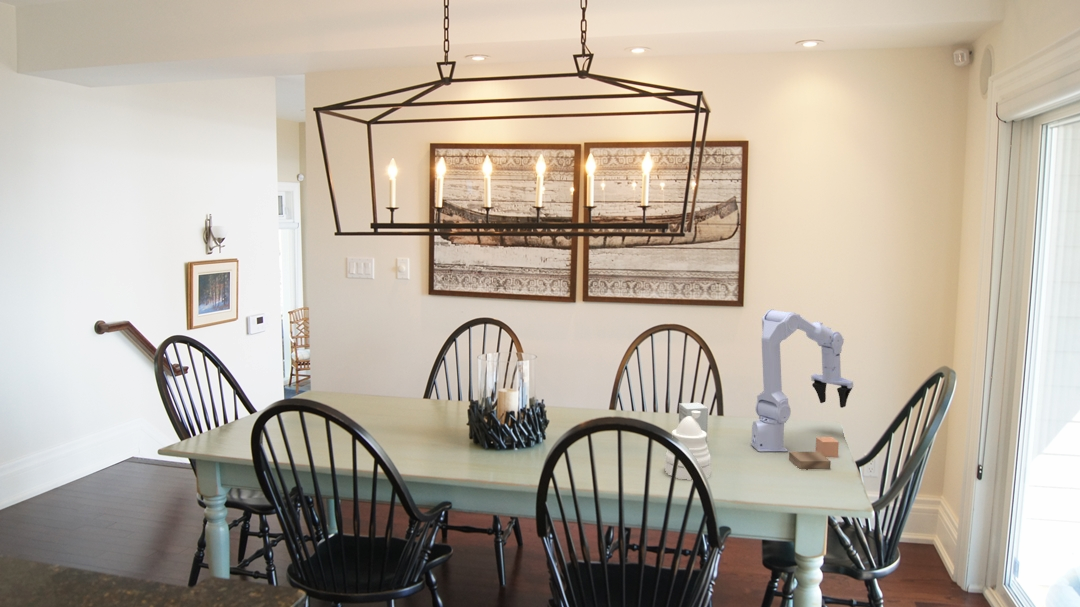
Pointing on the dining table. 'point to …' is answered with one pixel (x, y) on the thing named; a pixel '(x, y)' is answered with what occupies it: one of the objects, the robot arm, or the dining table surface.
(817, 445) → the terracotta block
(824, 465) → the walnut base block
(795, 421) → the dining table surface
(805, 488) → the dining table surface
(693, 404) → the supplement box
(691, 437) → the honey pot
